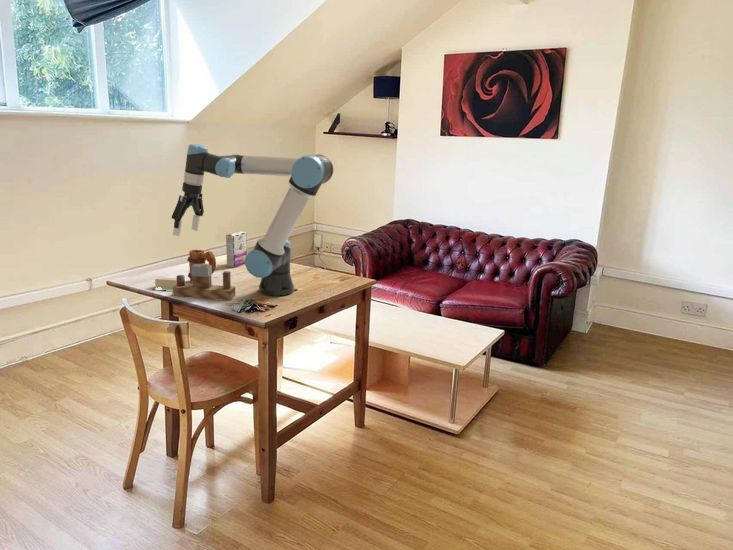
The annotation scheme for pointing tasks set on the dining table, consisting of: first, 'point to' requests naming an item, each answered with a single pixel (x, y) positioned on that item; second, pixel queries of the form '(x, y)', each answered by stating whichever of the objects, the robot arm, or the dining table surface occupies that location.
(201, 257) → the mug
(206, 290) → the wooden peg board
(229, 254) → the candy bar box
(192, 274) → the lever cap
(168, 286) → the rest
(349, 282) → the dining table surface
